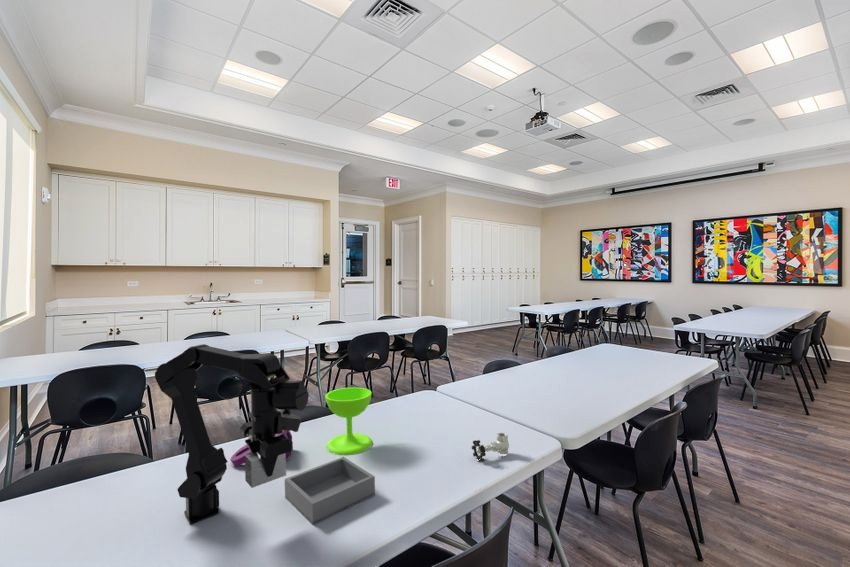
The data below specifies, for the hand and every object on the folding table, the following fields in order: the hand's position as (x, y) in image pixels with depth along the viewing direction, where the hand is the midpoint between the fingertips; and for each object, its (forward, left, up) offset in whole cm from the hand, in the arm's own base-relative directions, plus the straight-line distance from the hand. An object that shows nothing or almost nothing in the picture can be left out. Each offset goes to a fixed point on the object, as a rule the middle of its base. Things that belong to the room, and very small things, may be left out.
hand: (265, 472), depth 92 cm
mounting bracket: (+11, +34, -13) cm, 38 cm away
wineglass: (+37, +23, -12) cm, 46 cm away
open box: (+16, -1, -12) cm, 20 cm away
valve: (+65, -18, -12) cm, 69 cm away
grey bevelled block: (0, 0, -1) cm, 1 cm away
